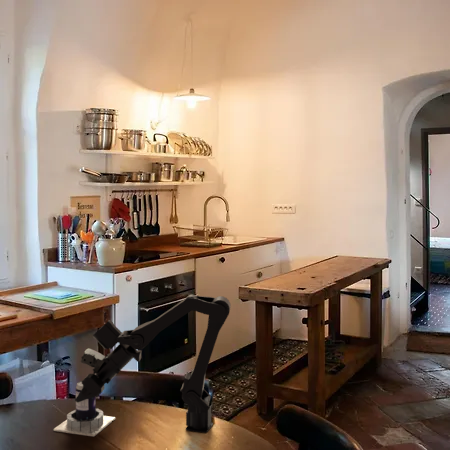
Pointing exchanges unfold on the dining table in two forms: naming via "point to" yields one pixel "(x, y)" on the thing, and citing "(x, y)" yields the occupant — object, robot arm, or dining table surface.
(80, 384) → the beverage can
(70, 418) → the collar seat
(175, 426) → the dining table surface
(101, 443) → the dining table surface
